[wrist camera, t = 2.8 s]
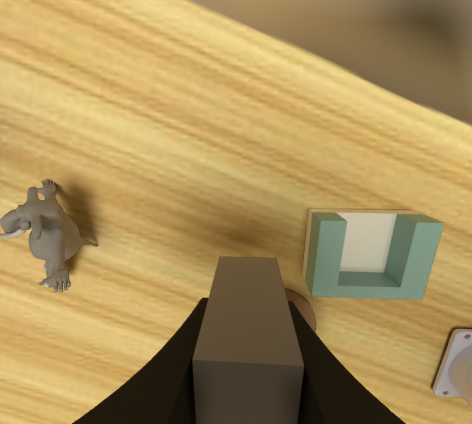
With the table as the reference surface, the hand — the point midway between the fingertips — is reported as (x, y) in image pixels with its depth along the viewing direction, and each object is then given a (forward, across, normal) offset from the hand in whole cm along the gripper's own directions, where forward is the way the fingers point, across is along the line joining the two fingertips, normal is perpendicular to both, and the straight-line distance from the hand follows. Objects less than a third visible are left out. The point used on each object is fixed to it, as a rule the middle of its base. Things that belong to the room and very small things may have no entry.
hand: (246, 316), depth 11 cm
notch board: (+9, -9, 0) cm, 12 cm away
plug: (+2, 0, 0) cm, 2 cm away
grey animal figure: (+9, +14, 0) cm, 17 cm away
